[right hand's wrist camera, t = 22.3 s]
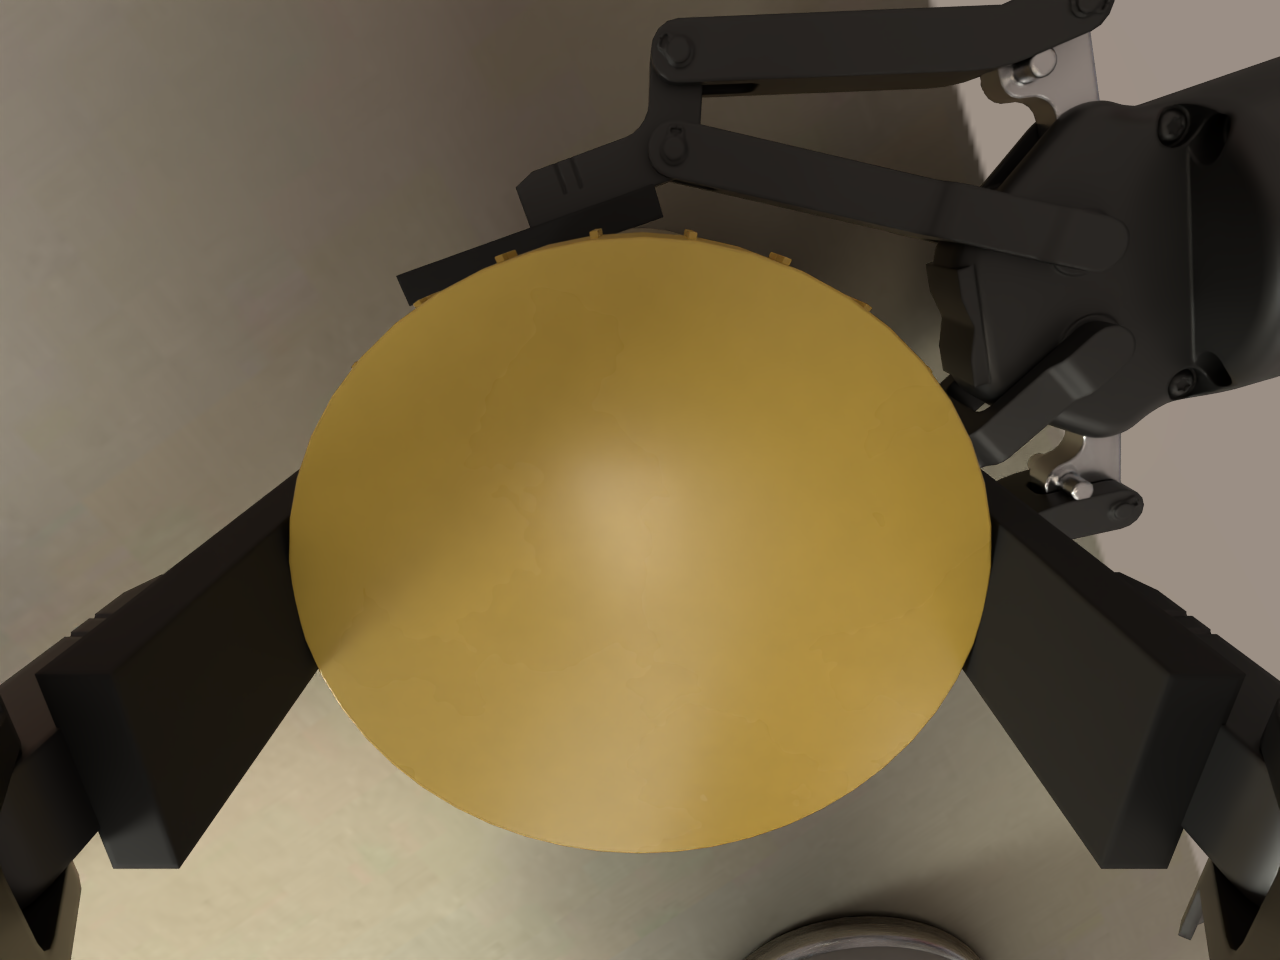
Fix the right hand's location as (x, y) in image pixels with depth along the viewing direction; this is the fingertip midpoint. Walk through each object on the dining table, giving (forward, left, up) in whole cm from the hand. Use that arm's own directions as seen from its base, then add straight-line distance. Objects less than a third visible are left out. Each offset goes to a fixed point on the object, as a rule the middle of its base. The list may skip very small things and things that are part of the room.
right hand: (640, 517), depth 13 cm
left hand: (-2, +4, -6) cm, 8 cm away
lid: (0, 0, +3) cm, 3 cm away
